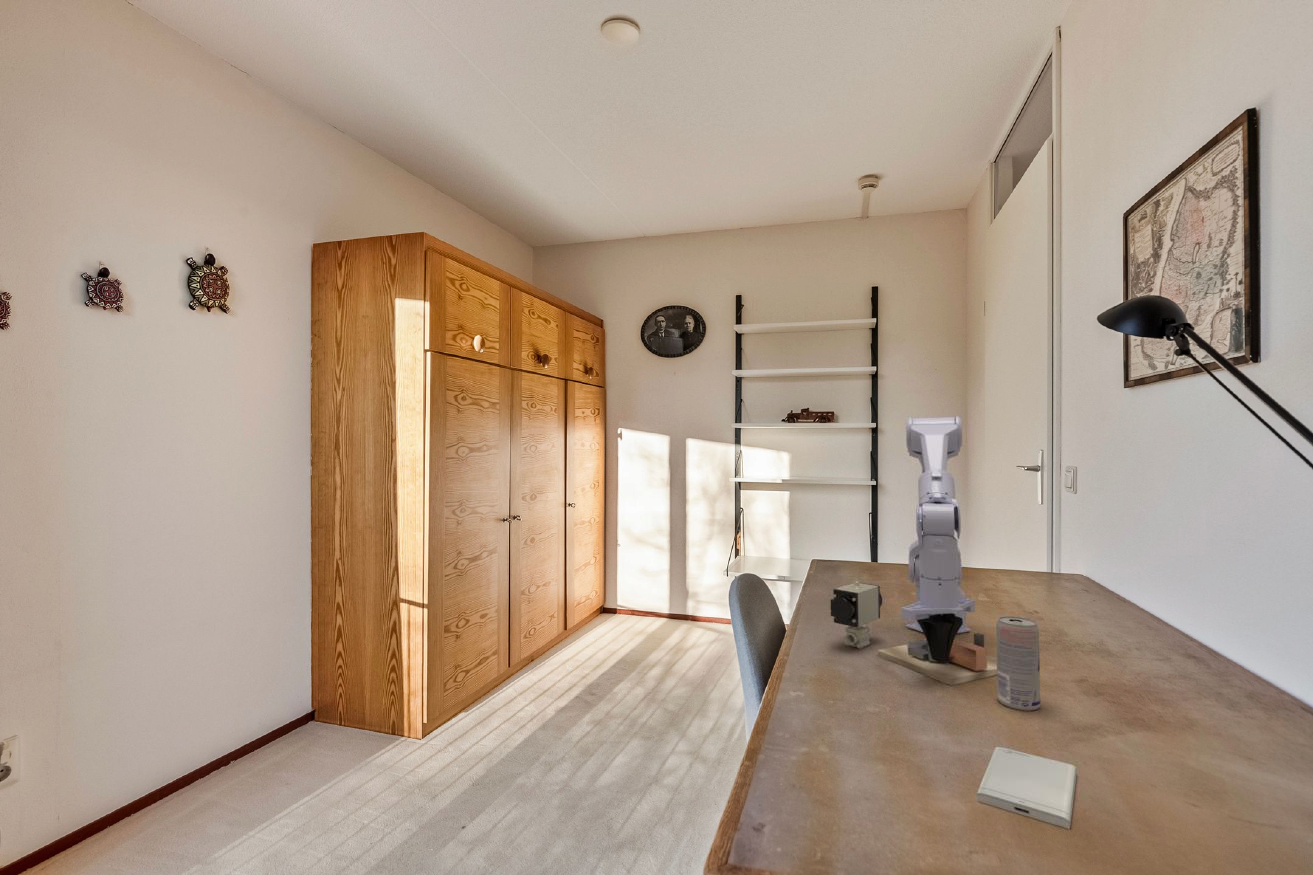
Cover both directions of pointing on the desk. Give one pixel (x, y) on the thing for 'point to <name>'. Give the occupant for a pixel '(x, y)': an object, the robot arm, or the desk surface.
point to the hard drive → (1029, 786)
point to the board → (940, 664)
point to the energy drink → (1018, 663)
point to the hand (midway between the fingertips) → (939, 660)
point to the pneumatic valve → (856, 610)
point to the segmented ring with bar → (954, 653)
